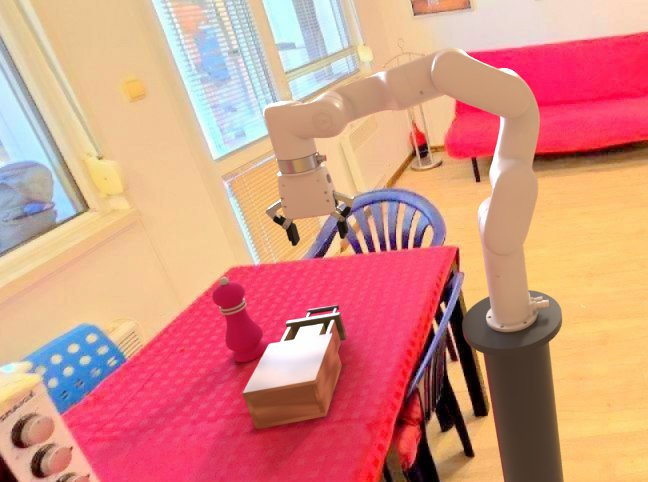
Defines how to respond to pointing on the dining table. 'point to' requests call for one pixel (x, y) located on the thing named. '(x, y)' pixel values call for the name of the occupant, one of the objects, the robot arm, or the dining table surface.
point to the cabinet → (293, 381)
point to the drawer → (330, 321)
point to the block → (311, 331)
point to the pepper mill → (238, 321)
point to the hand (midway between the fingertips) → (320, 239)
